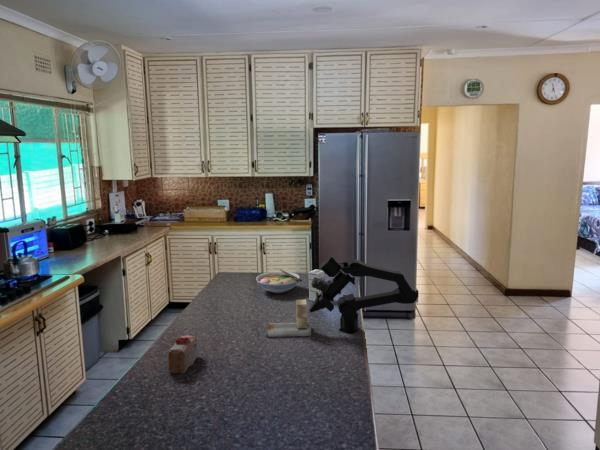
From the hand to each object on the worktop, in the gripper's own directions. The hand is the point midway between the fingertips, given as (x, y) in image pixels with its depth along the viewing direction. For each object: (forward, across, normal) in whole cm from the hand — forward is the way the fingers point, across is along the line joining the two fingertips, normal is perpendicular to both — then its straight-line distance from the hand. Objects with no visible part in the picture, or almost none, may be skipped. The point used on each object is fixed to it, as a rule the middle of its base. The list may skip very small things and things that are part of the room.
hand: (310, 311), depth 184 cm
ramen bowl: (+16, -52, -3) cm, 55 cm away
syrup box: (+2, -37, +10) cm, 39 cm away
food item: (+39, +24, -26) cm, 53 cm away
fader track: (+12, 0, 0) cm, 12 cm away
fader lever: (+7, 0, +3) cm, 8 cm away
